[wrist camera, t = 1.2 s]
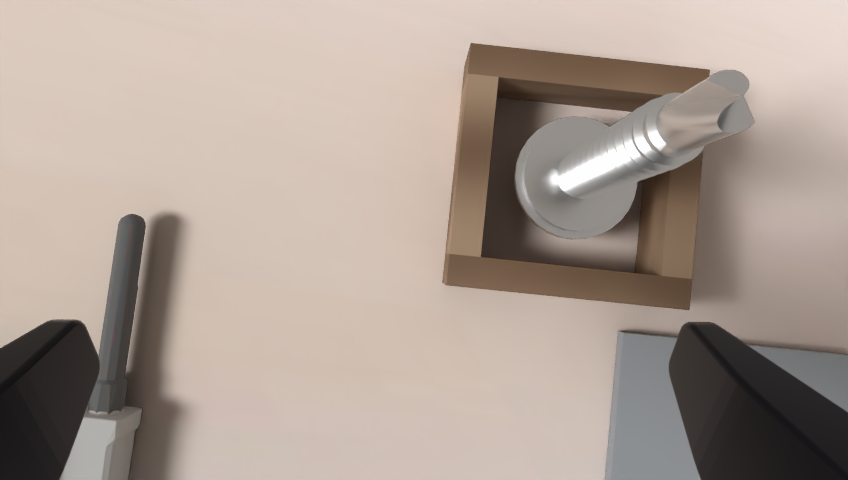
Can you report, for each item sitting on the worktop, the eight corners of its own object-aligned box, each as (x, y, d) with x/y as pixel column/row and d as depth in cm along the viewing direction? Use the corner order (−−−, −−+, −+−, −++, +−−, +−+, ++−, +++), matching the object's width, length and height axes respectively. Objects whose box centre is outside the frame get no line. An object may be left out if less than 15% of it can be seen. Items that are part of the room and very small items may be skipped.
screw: (555, 106, 24) (640, 179, 24) (482, 190, 24) (568, 264, 24) (726, -76, 11) (912, 84, 11) (570, 106, 11) (758, 269, 11)
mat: (829, 590, 23) (840, 598, 23) (597, 568, 23) (601, 576, 23) (847, 354, 24) (858, 356, 23) (618, 331, 24) (623, 333, 23)
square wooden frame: (659, 304, 24) (689, 310, 21) (442, 282, 24) (446, 285, 21) (678, 89, 24) (709, 69, 22) (464, 65, 24) (471, 43, 21)
